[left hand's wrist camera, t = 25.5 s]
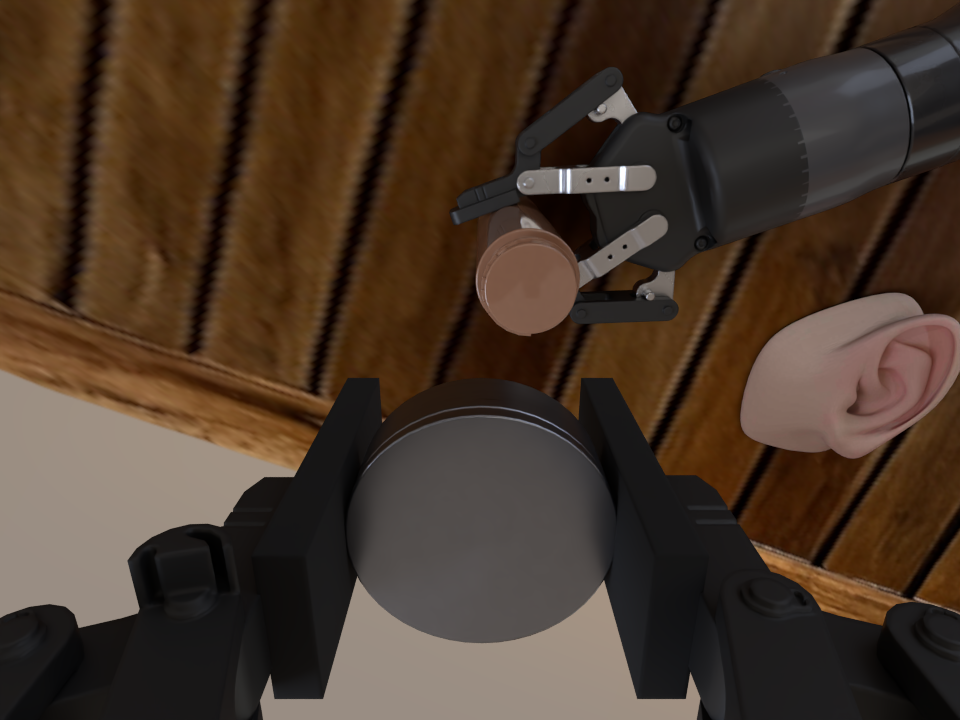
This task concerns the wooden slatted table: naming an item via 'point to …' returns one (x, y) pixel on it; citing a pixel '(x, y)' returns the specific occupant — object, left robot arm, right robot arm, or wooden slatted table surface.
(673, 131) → the right robot arm
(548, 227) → the pinkish brown cylinder
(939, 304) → the wooden slatted table surface
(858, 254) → the wooden slatted table surface
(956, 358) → the anatomical model
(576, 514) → the lid
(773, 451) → the wooden slatted table surface
